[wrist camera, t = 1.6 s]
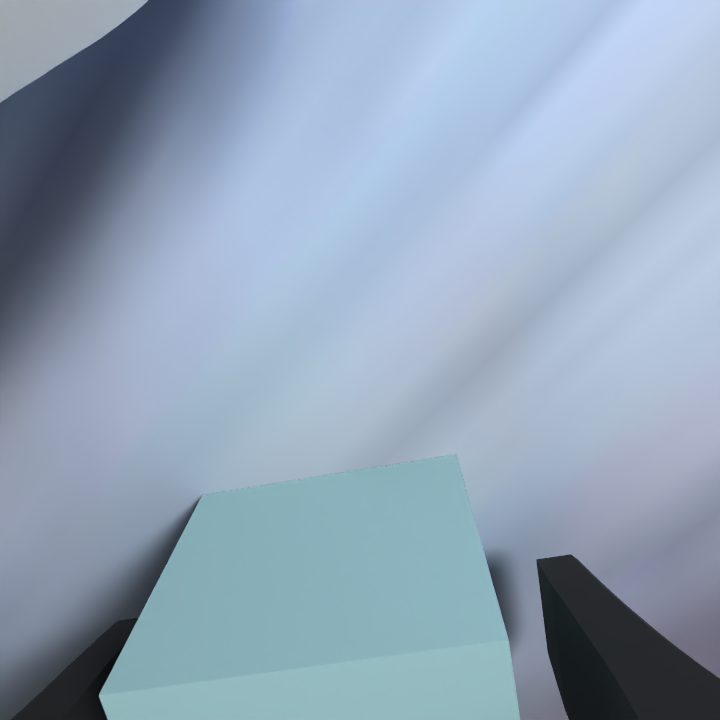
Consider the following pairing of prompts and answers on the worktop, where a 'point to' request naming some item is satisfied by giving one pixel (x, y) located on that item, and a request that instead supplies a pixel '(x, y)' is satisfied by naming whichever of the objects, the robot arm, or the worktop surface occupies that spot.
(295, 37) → the worktop surface
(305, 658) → the teal block
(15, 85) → the decorative rooster
